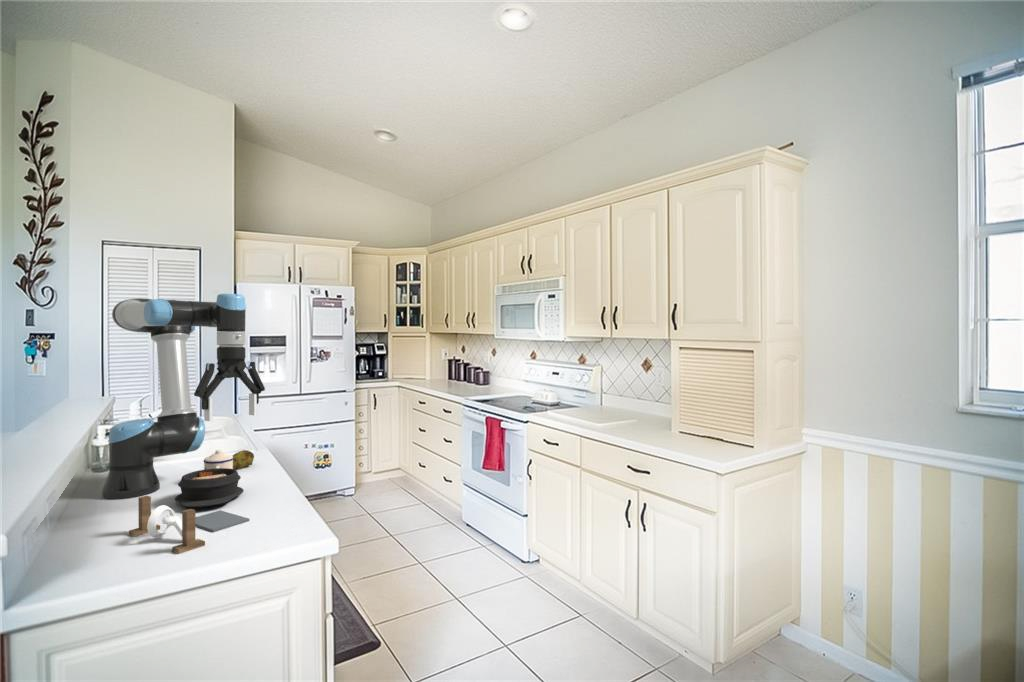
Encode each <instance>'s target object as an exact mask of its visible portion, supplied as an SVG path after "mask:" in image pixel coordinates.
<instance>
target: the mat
mask: <svg viewBox="0 0 1024 682" xmlns="http://www.w3.org/2000/svg"><path fill="white" fill-rule="evenodd" d="M249 521H250V518H249V517H246V516H245V517H244V516H241V515H239V514H234V513H231V512H228V511H225V510H221V509H220V510H216V511H212V512H210V513H206V514H202V515H199V516H195V528H196V527H197V528H198V529H199V528H200V529H203V530H206V531H209V532H211V533H215V532H218V531H222V530H224V529H227V528H231V527H234V526H237V525H241V524H244V523H246V522H249Z"/></svg>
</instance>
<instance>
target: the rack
mask: <svg viewBox="0 0 1024 682" xmlns="http://www.w3.org/2000/svg"><path fill="white" fill-rule="evenodd" d="M151 513H152V497H151V496H149V495H145V496H141V497H138V527H137V528H134V529H130V530H129V529H128V535H129V536H132V537H137V536H138V537H139V536H142V535H145V534H149V533H148V530H147V524H148V520H149V517H150V515H151ZM195 517H196V510H195V509H193V508H190V509H189V508H188V509H185V510H182V511H181V519H182V536H181V542H182V543H179V544H177V545H174V546H171V551H172V553H176V554H179V555H180V554H184V553H186V552H188V551H192V550H195V549H198V548H200V547H204V546H206V541H205V540H203V539H200V538H196V526H195ZM156 529H157V531H159V530H161V525H160V524H157V523H156Z"/></svg>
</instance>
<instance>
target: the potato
mask: <svg viewBox="0 0 1024 682" xmlns="http://www.w3.org/2000/svg"><path fill="white" fill-rule="evenodd" d="M232 456H233V458H234V459H233V469H235V470H237V471H238V470H242V469H244V468H246V467H249V466H252V465H253V462H254V459H255V455H254V453H253V452H252V451H249V450H245V449H243V450H240V451H238V452H236V453H234V454H232Z"/></svg>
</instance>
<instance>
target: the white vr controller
mask: <svg viewBox="0 0 1024 682" xmlns="http://www.w3.org/2000/svg"><path fill="white" fill-rule="evenodd" d="M165 511H168V512H169V514H168V515H166V516H165V517H162V519H161V523H162V525H166V528H165V529H164V530H163V531H162V532H159V530H157V529H156V524H157V521H158V519H159V517H160V516H161V514H162V513H163V512H165ZM172 527H174V528H175V530H176V531H177V532H178V534H179V535H180V536H181V537H182V518H181V517H180V516H177V515H175V511H174V509H172V508H171V507H169V506H168V505H165V504H162V505H159V506H157V507H155V509H154V510H152V511H151V515H150V517H149V520H148V524H147V530H148V533H147V534H149V536H150V537H152V538H159V537H162V536H164V535H166V534H167V533H168V532H169V531H170V530H171V529H172Z"/></svg>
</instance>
